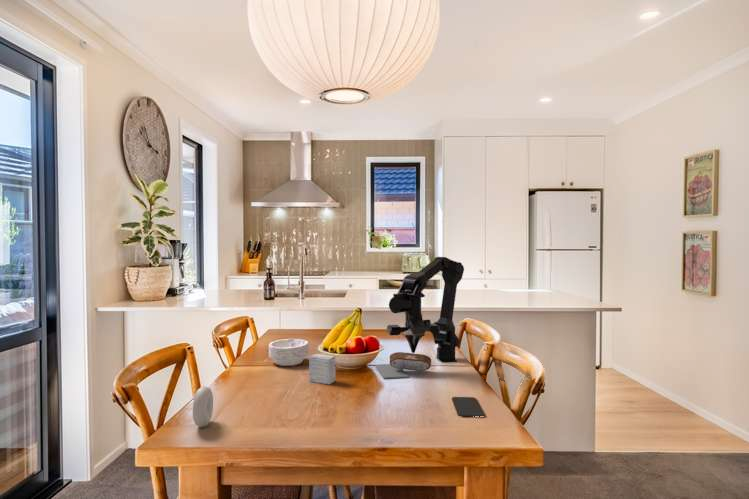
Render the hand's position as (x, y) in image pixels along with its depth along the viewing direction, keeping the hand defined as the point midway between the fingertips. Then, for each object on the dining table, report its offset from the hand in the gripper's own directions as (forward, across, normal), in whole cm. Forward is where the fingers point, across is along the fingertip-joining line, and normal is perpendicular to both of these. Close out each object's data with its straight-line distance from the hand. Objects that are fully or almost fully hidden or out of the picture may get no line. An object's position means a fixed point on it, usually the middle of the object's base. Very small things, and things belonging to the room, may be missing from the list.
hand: (413, 352), depth 168 cm
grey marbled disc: (+7, -67, -38) cm, 77 cm away
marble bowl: (+7, -45, +18) cm, 49 cm away
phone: (+7, +6, -38) cm, 39 cm away
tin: (+6, -2, 0) cm, 6 cm away
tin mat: (+7, -8, 0) cm, 11 cm away
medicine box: (+7, -34, -7) cm, 35 cm away
